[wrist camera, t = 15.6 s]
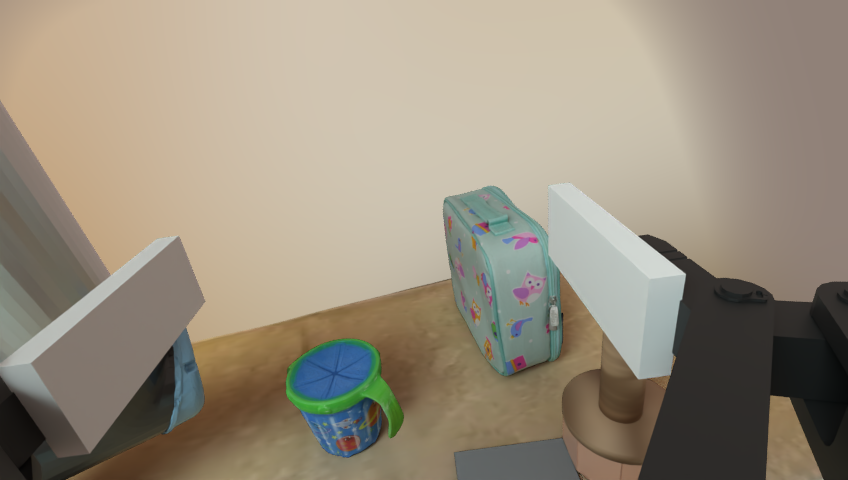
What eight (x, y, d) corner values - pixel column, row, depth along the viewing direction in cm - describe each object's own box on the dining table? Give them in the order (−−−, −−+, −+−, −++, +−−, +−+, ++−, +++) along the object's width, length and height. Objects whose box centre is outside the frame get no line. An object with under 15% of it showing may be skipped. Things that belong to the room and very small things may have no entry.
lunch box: (577, 380, 54) (582, 228, 46) (501, 400, 53) (491, 247, 44) (499, 281, 78) (493, 169, 70) (446, 293, 77) (432, 180, 68)
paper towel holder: (587, 473, 38) (592, 368, 33) (547, 384, 48) (547, 293, 43) (709, 456, 38) (734, 349, 33) (644, 371, 48) (655, 279, 43)
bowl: (588, 502, 40) (590, 466, 38) (553, 418, 50) (553, 386, 47) (692, 488, 40) (700, 451, 38) (638, 407, 50) (642, 374, 47)
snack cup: (276, 436, 52) (252, 372, 48) (338, 381, 60) (322, 322, 55) (368, 502, 43) (348, 431, 39) (428, 428, 51) (417, 361, 46)
